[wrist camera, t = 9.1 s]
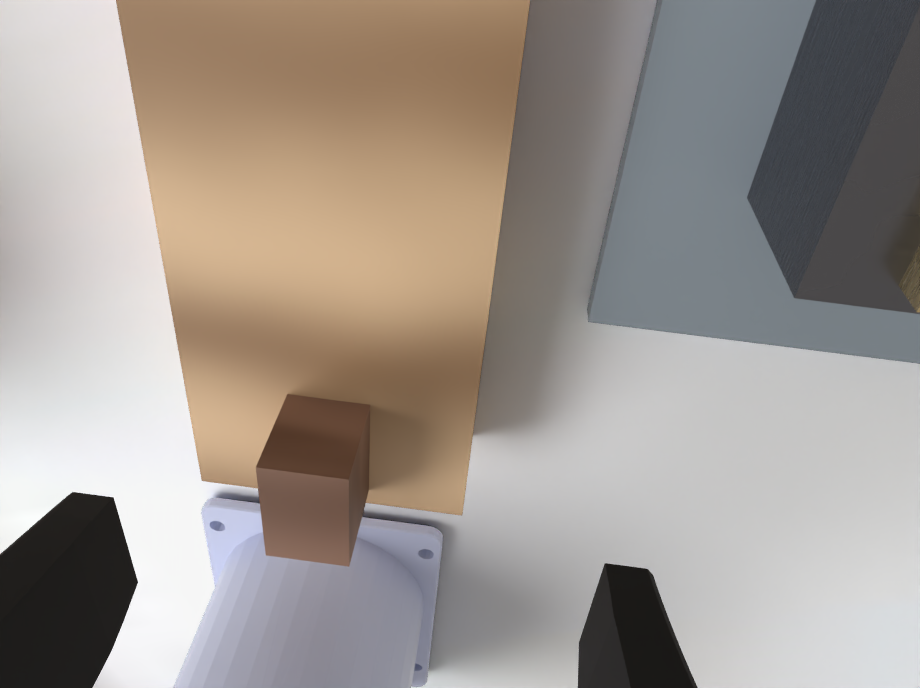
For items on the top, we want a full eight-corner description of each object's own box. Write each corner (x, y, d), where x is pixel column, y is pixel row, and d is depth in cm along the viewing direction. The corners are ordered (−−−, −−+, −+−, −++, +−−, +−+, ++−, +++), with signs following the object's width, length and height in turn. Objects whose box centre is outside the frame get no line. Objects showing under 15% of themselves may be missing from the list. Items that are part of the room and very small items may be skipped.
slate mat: (982, 357, 19) (994, 372, 18) (587, 308, 19) (588, 321, 19) (1371, -245, 12) (1406, -247, 11) (728, -312, 12) (735, -315, 11)
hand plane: (471, 436, 22) (452, 593, 18) (239, 406, 22) (164, 554, 18) (644, -884, 9) (731, -1492, 5) (73, -931, 9) (-350, -1562, 5)
